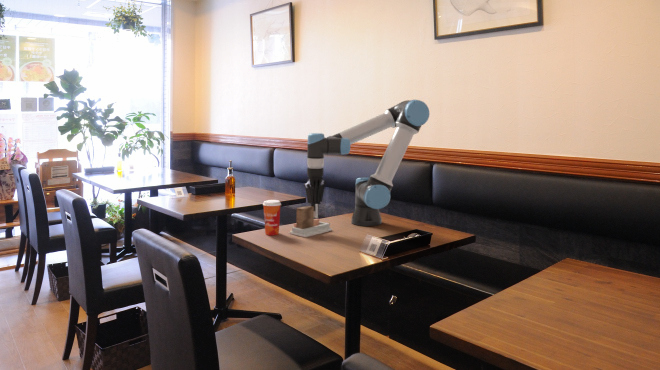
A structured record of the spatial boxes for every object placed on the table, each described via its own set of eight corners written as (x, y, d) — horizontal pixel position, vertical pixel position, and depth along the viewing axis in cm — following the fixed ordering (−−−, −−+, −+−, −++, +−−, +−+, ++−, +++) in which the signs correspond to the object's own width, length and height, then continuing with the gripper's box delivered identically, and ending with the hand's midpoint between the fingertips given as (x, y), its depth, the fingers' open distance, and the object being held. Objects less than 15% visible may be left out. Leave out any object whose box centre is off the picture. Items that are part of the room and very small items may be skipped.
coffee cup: (259, 234, 217) (259, 201, 215) (268, 231, 225) (268, 199, 223) (276, 236, 214) (276, 203, 212) (284, 232, 222) (284, 200, 219)
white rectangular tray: (316, 226, 234) (316, 217, 233) (332, 230, 228) (332, 221, 227) (289, 233, 221) (289, 223, 220) (305, 237, 214) (305, 227, 213)
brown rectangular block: (301, 233, 217) (301, 209, 216) (296, 232, 219) (296, 208, 218) (313, 230, 223) (313, 206, 222) (308, 229, 225) (308, 205, 224)
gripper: (318, 165, 229) (317, 214, 233) (299, 167, 219) (299, 218, 223) (330, 166, 224) (329, 216, 228) (311, 169, 215) (311, 221, 218)
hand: (314, 217), depth 226 cm, fingers closed
